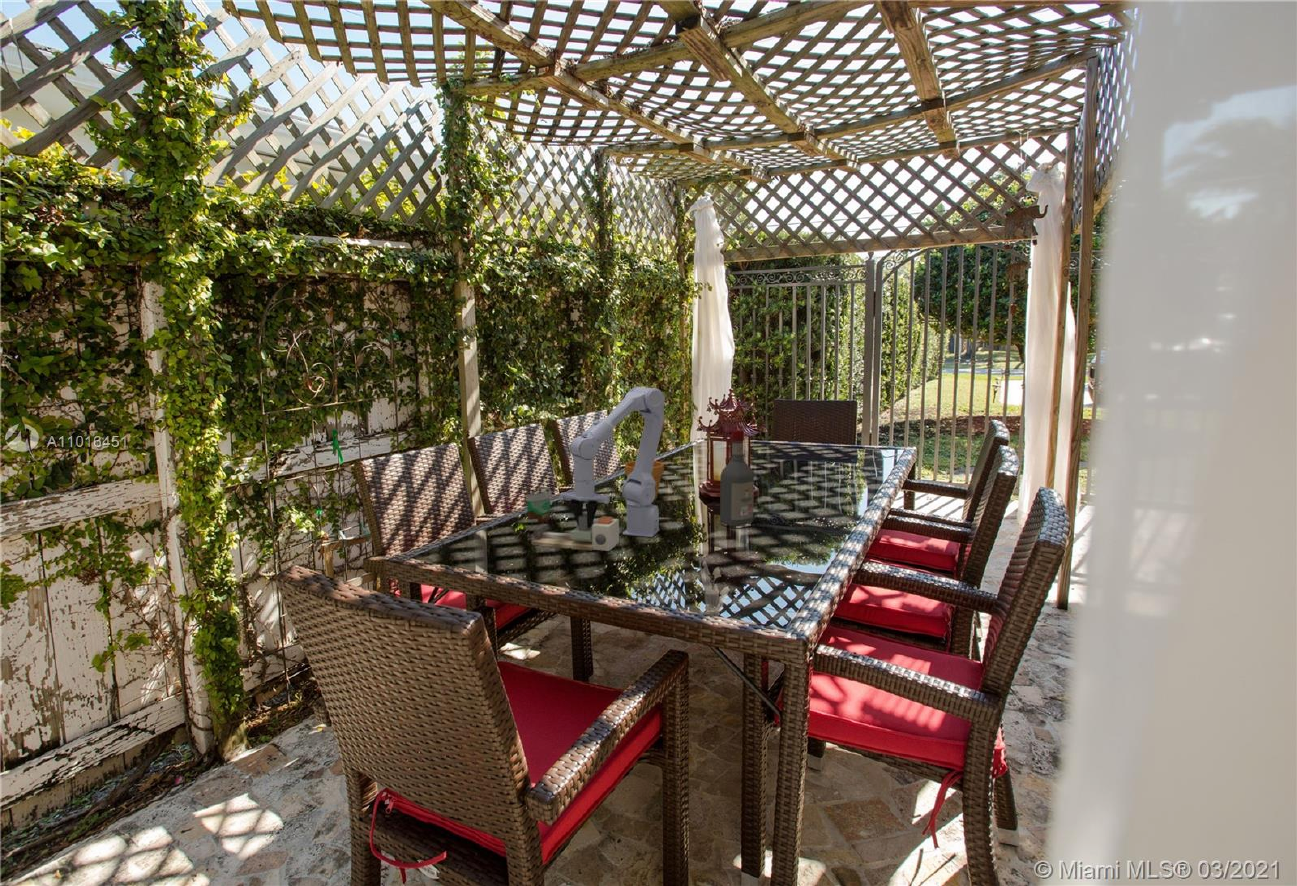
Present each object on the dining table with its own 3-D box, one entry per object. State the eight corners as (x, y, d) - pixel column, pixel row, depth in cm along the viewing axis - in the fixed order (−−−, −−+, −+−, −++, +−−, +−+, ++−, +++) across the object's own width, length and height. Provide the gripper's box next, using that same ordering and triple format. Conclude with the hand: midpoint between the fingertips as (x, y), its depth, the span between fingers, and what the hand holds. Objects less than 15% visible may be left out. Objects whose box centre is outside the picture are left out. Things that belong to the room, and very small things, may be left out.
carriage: (599, 536, 194) (599, 513, 193) (590, 543, 188) (590, 519, 186) (580, 534, 196) (579, 511, 195) (570, 541, 189) (570, 517, 188)
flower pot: (621, 502, 239) (621, 467, 237) (629, 493, 253) (628, 459, 251) (660, 504, 237) (660, 468, 235) (666, 494, 250) (666, 460, 248)
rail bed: (604, 540, 196) (603, 526, 195) (591, 550, 186) (591, 536, 186) (546, 534, 201) (545, 522, 200) (531, 544, 192) (530, 531, 191)
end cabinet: (618, 542, 193) (618, 519, 192) (608, 551, 185) (608, 527, 184) (602, 541, 195) (602, 517, 194) (592, 549, 187) (591, 525, 186)
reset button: (612, 524, 190) (612, 517, 190) (608, 527, 187) (608, 519, 187) (602, 523, 191) (602, 516, 191) (598, 526, 188) (598, 519, 188)
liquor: (757, 525, 210) (759, 430, 205) (735, 530, 205) (736, 433, 200) (737, 518, 217) (739, 427, 213) (716, 523, 212) (717, 429, 208)
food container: (545, 526, 210) (544, 495, 208) (526, 525, 211) (525, 494, 210) (558, 516, 222) (557, 486, 220) (540, 515, 223) (539, 486, 221)
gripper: (554, 481, 187) (556, 527, 189) (603, 484, 183) (603, 531, 185) (564, 475, 194) (566, 521, 196) (611, 478, 190) (612, 524, 192)
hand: (585, 525), depth 191 cm, fingers closed on carriage, 2 cm apart
